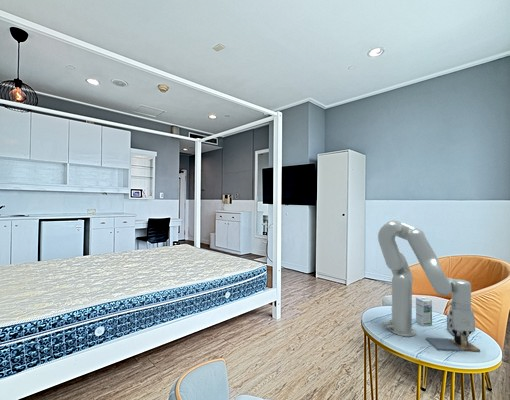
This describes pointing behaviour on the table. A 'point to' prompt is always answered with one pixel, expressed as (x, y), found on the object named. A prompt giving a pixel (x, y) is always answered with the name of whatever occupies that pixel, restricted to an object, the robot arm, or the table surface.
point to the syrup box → (424, 311)
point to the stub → (465, 344)
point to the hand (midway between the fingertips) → (460, 343)
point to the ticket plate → (443, 344)
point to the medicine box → (452, 327)
